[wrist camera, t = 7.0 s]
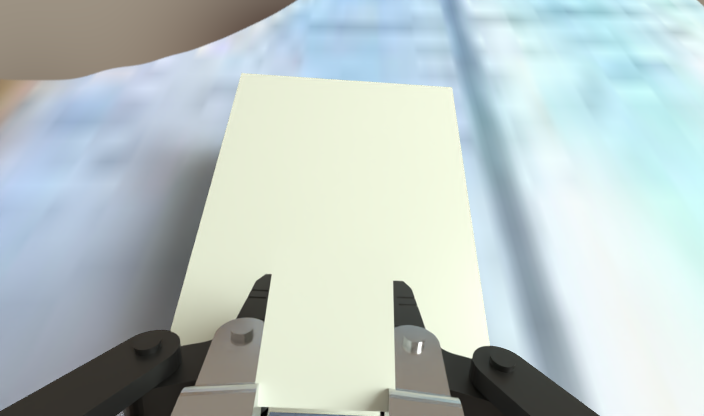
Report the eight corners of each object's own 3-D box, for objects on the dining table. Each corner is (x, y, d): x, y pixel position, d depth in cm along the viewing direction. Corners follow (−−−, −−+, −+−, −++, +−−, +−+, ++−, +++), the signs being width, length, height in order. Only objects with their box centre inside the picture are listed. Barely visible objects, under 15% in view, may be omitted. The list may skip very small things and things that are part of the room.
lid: (248, 96, 24) (192, -101, 15) (443, 109, 25) (515, -74, 15) (170, 405, 15) (-116, 428, 5) (481, 417, 16) (728, 459, 6)
